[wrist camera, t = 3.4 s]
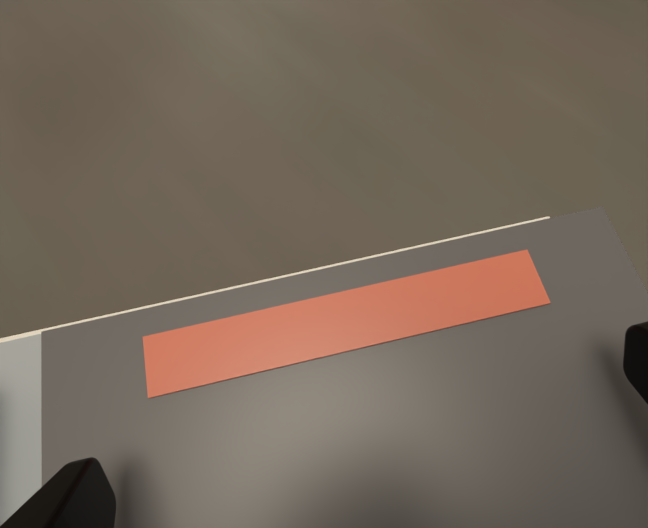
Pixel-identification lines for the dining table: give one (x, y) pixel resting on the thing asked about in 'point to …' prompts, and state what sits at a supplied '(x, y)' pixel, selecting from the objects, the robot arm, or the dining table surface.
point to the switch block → (25, 402)
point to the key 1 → (372, 392)
